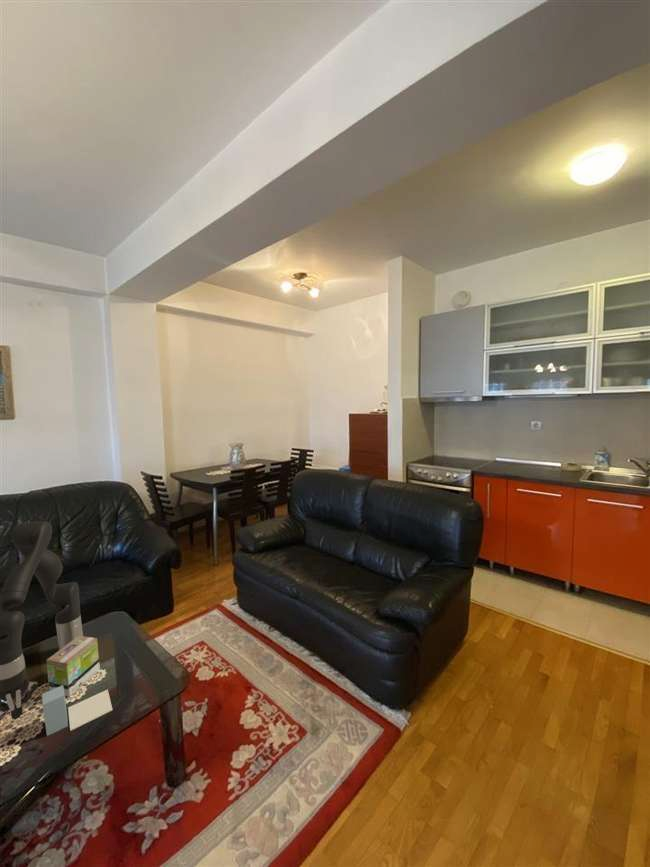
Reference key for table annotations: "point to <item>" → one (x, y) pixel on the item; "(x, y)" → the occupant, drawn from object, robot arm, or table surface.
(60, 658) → the tea box
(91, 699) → the felt mat
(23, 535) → the robot arm
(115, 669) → the table surface
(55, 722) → the pale blue-gray rectangular block
